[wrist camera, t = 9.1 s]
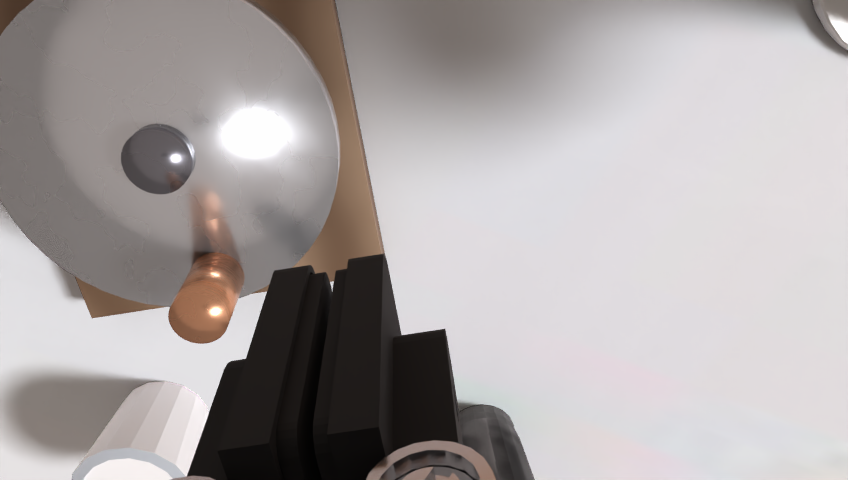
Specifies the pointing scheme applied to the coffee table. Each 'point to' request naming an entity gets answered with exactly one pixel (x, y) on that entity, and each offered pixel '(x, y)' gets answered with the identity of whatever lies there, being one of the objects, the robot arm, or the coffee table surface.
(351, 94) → the wheel base
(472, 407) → the beverage cup
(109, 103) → the handwheel
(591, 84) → the coffee table surface
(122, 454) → the white faceted cup
